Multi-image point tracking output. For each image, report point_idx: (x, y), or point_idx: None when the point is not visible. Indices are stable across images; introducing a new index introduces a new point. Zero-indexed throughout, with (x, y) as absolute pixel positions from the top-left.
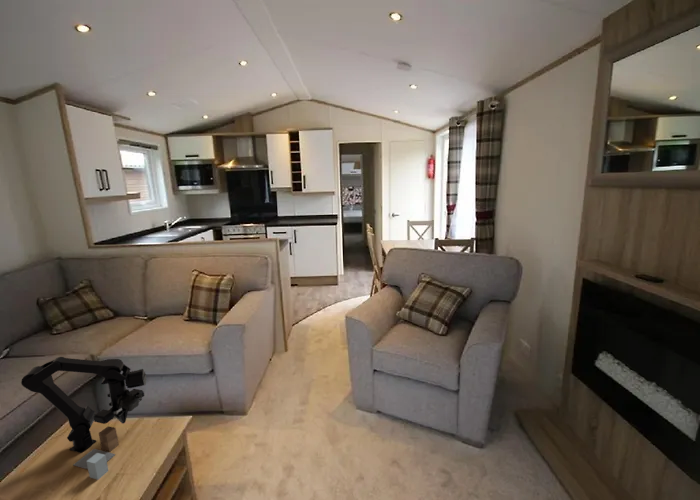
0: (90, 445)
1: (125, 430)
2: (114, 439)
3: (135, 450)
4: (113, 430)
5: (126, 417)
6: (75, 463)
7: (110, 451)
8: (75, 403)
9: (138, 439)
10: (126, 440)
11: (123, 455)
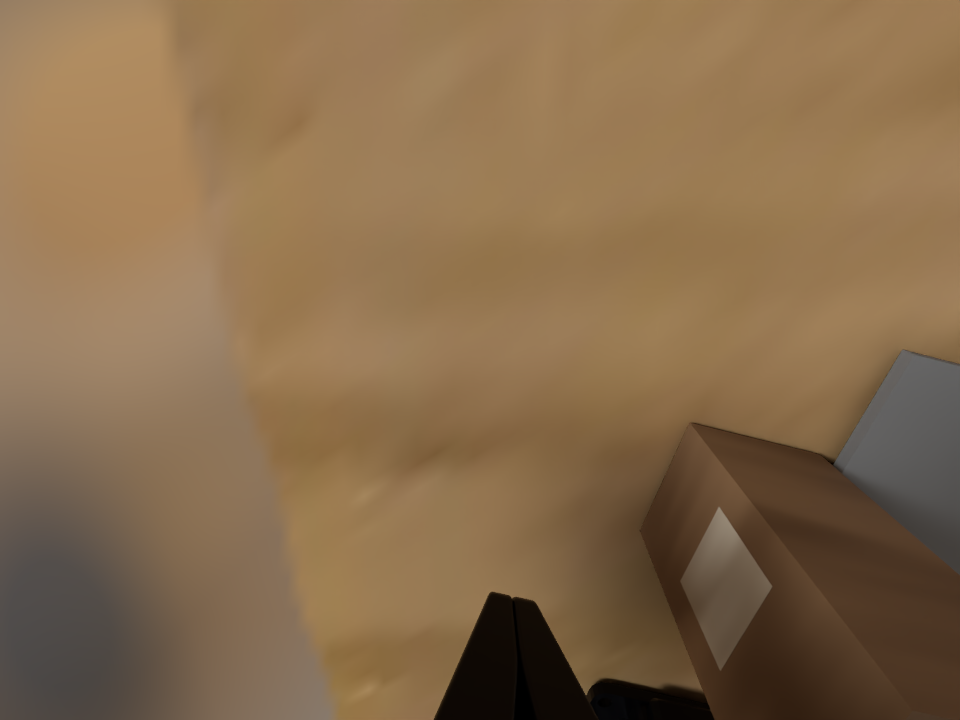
0: (684, 706)
1: (408, 498)
2: (802, 514)
3: (866, 73)
4: (956, 695)
5: (451, 679)
6: None
7: (806, 452)
8: None
9: (593, 196)
10: (600, 373)
11: (935, 219)
